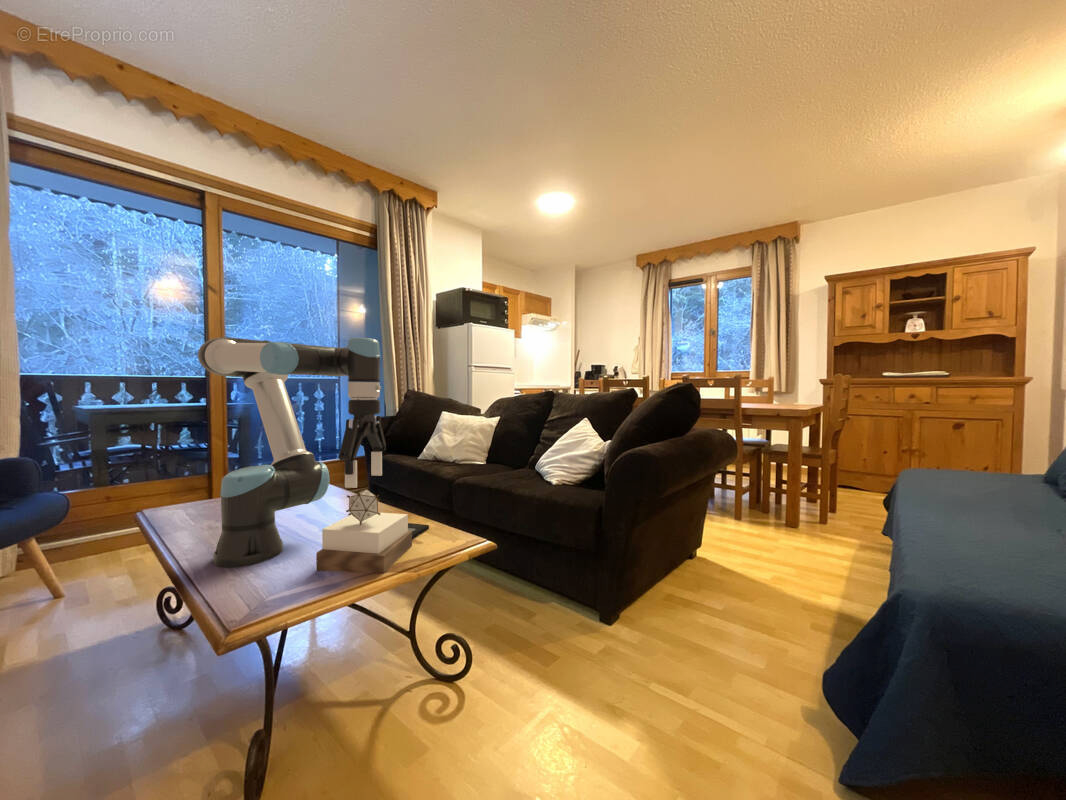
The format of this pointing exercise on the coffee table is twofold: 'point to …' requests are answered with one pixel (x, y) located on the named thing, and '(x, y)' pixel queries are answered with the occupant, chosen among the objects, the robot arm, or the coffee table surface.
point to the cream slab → (365, 533)
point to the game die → (363, 505)
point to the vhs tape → (417, 529)
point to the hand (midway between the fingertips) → (364, 481)
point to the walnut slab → (363, 558)
